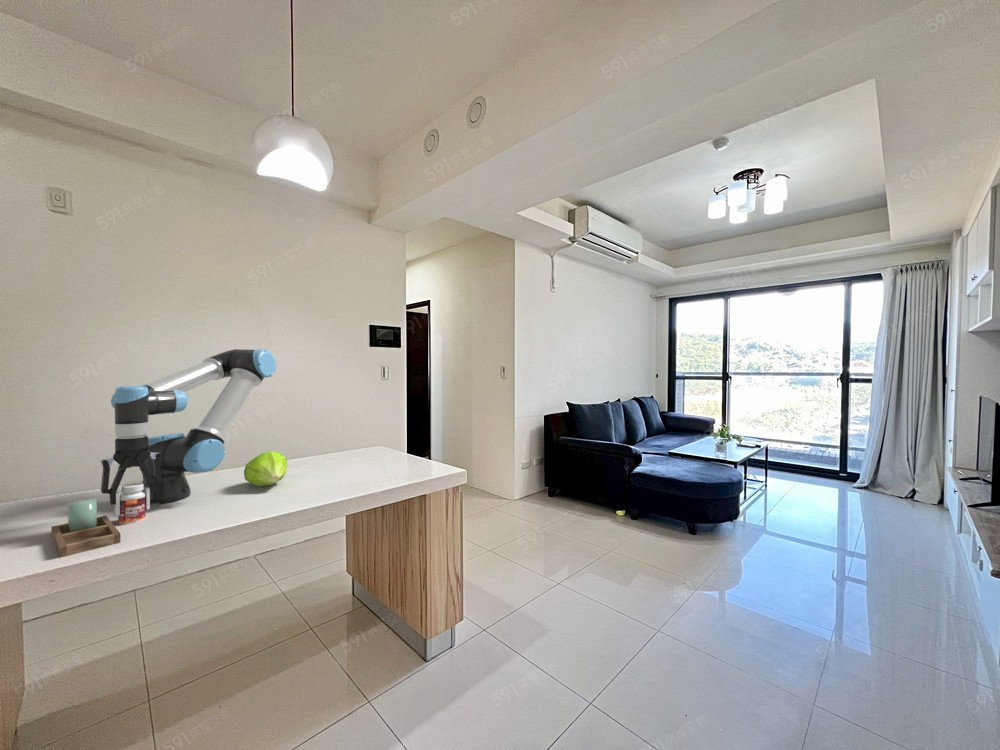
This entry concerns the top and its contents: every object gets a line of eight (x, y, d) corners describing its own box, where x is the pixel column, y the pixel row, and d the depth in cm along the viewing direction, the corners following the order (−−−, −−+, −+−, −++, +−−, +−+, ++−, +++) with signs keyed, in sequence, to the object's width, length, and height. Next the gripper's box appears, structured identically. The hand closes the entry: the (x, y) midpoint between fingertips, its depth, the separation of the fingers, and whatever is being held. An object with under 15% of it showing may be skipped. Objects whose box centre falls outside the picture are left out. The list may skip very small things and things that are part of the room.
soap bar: (95, 528, 116) (95, 497, 116) (98, 533, 113) (98, 501, 112) (67, 534, 112) (66, 502, 112) (69, 539, 108) (69, 507, 108)
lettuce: (250, 495, 148) (250, 459, 148) (240, 483, 163) (240, 451, 163) (294, 487, 159) (294, 454, 159) (281, 477, 174) (281, 446, 173)
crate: (106, 525, 120) (106, 515, 120) (120, 544, 107) (120, 533, 107) (51, 537, 111) (51, 526, 111) (59, 560, 98) (59, 547, 98)
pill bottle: (125, 526, 118) (126, 488, 118) (113, 523, 121) (114, 486, 121) (149, 520, 124) (150, 483, 124) (138, 516, 126) (138, 481, 126)
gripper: (168, 431, 132) (168, 500, 132) (85, 439, 117) (86, 517, 117) (174, 433, 127) (175, 505, 128) (89, 442, 112) (90, 523, 112)
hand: (132, 511), depth 122 cm, fingers closed on pill bottle, 6 cm apart
